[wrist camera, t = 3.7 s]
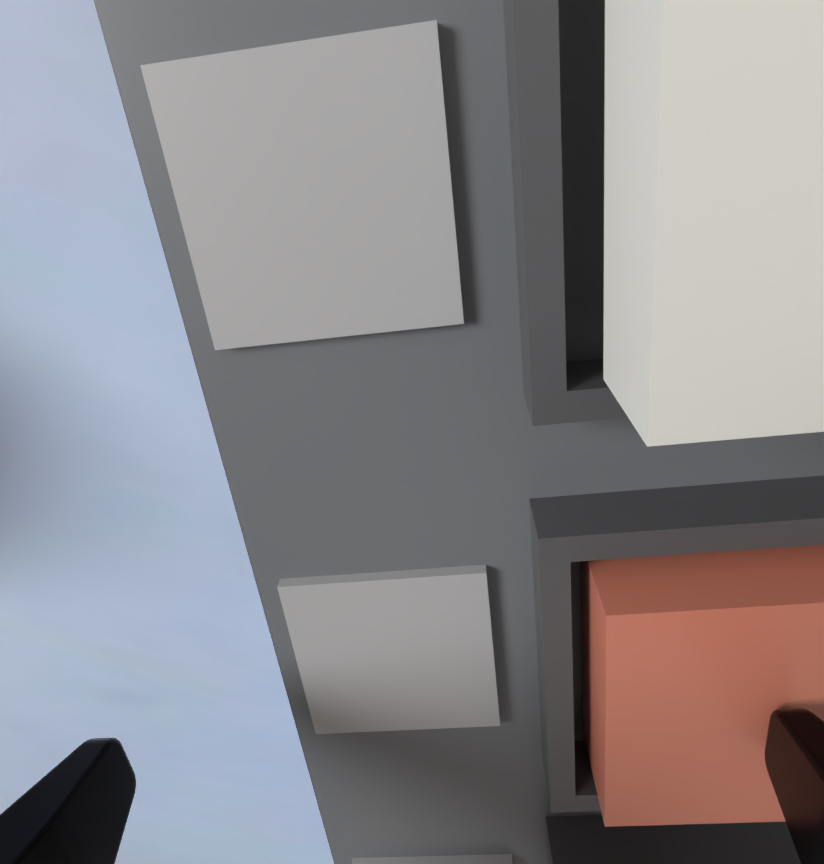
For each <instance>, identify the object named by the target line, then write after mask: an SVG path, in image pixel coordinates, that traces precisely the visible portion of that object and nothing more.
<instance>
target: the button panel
mask: <svg viewBox="0 0 824 864" xmlns="http://www.w3.org/2000/svg"><path fill="white" fill-rule="evenodd" d="M94 3H95V7H96V10H97V14H98V17H99V21H100V25H101V28H102V32H103V35H104V39H105V43H106V46H107V50H108V53H109V57H110V60H111V64H112V68H113V71H114V75H115V78H116V82H117V86H118V89H119V93H120V96H121V100H122V104H123V107H124V111H125V114H126V118H127V121H128V125H129V129H130V132H131V136H132V139H133V143H134V147H135V150H136V154H137V157H138V161H139V165H140V168H141V172H142V175H143V179H144V182H145V186H146V190H147V193H148V197H149V200H150V204H151V208H152V211H153V215H154V218H155V222H156V225H157V229H158V233H159V236H160V240H161V243H162V247H163V251H164V254H165V258H166V261H167V265H168V269H169V272H170V276H171V279H172V283H173V286H174V290H175V294H176V297H177V301H178V304H179V308H180V312H181V315H182V319H183V322H184V326H185V329H186V333H187V337H188V340H189V344H190V347H191V351H192V355H193V358H194V362H195V365H196V369H197V373H198V376H199V380H200V383H201V387H202V390H203V394H204V398H205V401H206V405H207V408H208V412H209V416H210V419H211V423H212V426H213V430H214V433H215V437H216V441H217V444H218V448H219V451H220V455H221V459H222V462H223V466H224V469H225V473H226V477H227V480H228V484H229V487H230V491H231V494H232V498H233V502H234V505H235V509H236V512H237V516H238V520H239V523H240V527H241V530H242V534H243V537H244V541H245V545H246V548H247V552H248V555H249V559H250V563H251V566H252V570H253V573H254V577H255V581H256V584H257V588H258V591H259V595H260V598H261V602H262V606H263V609H264V613H265V616H266V620H267V624H268V627H269V631H270V634H271V638H272V641H273V645H274V649H275V652H276V656H277V659H278V663H279V667H280V670H281V674H282V677H283V681H284V685H285V688H286V692H287V695H288V699H289V702H290V706H291V710H292V713H293V717H294V720H295V724H296V728H297V731H298V735H299V738H300V742H301V745H302V749H303V753H304V756H305V760H306V763H307V767H308V771H309V774H310V778H311V781H312V785H313V789H314V792H315V796H316V799H317V803H318V806H319V810H320V814H321V817H322V821H323V824H324V828H325V832H326V835H327V839H328V842H329V846H330V849H331V853H332V857H333V860H334V864H801V862H800V860H799V857H798V854H797V851H796V849H795V846H794V843H793V840H792V838H791V835H790V832H789V829H788V827H787V824H786V821H785V822H750V823H716V824H681V825H647V826H612V827H605V826H604V822H603V817H602V813H601V809H600V804H599V800H598V796H597V791H596V787H595V782H594V778H593V774H592V769H591V765H590V761H589V756H588V752H587V748H586V743H585V739H584V735H583V664H582V587H581V561H593V560H607V559H622V558H636V557H651V556H666V555H680V554H695V553H709V552H724V551H738V550H753V549H767V548H782V547H796V546H811V545H824V432H814V433H802V434H790V435H779V436H767V437H755V438H743V439H732V440H720V441H708V442H696V443H685V444H673V445H661V446H649V447H647V446H646V444H645V443H644V441H643V439H642V438H641V436H640V435H639V433H638V432H637V430H636V429H635V427H634V426H633V424H632V423H631V421H630V420H629V418H628V416H627V415H626V413H625V412H624V410H623V409H622V407H621V406H620V404H619V403H618V401H617V400H616V398H615V397H614V395H613V393H612V392H611V390H610V389H609V387H608V386H607V384H606V383H605V381H604V380H603V342H604V102H605V0H94Z"/></svg>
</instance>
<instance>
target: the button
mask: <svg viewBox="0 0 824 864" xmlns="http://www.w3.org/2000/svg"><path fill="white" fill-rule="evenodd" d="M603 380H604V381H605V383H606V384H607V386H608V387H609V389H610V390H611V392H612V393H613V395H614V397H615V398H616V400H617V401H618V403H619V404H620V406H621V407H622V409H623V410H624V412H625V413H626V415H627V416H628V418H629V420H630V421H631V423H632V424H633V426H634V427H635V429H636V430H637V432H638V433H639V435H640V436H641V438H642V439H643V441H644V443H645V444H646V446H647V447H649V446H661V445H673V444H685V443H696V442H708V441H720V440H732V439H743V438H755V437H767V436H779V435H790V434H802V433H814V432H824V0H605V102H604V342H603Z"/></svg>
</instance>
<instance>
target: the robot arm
mask: <svg viewBox="0 0 824 864" xmlns="http://www.w3.org/2000/svg"><path fill="white" fill-rule="evenodd" d="M765 763H766V768H767V771H768V774H769V777H770V780H771V782H772V785H773V788H774V791H775V794H776V796H777V799H778V802H779V805H780V807H781V810H782V813H783V816H784V818H785V821H786V824H787V827H788V829H789V832H790V835H791V838H792V840H793V843H794V846H795V849H796V851H797V854H798V857H799V860H800V862H801V864H824V721H823V720H821V719H820V718H819V717H818V716H816V715H815V714H814V713H812V712H810V711H809V710H806V709H802V708H795V709H777V710H774V711H773V712H772V714H771V716H770V720H769V727H768V733H767V739H766V746H765ZM135 788H136V779H135V774H134V771H133V769H132V767H131V765H130V762H129V760H128V758H127V756H126V753H125V751H124V749H123V747H122V744H121V743H120V741H119V740H117V739H116V738H96V739H90V740H87V741H86V742H84V743H83V744H81V745H80V746H79V747H78V748H77V749H76V750H74V751H73V752H72V753H71V754H70V755H69V756H67V757H66V758H65V759H64V760H63V761H62V762H61V763H59V764H58V765H57V766H56V767H55V768H54V769H52V770H51V771H50V772H49V773H48V774H47V775H46V776H44V777H43V778H42V779H41V780H40V781H39V782H37V783H36V784H35V785H34V786H33V787H32V788H31V789H29V790H28V791H27V792H26V793H25V794H24V795H22V796H21V797H20V798H19V799H18V800H17V801H16V802H14V803H13V804H12V805H11V806H10V807H9V808H7V809H6V810H5V811H4V812H3V813H2V814H1V815H0V864H114V863H115V860H116V856H117V853H118V850H119V846H120V843H121V839H122V836H123V832H124V829H125V825H126V822H127V818H128V815H129V811H130V808H131V804H132V801H133V798H134V794H135Z"/></svg>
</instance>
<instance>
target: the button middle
mask: <svg viewBox="0 0 824 864" xmlns="http://www.w3.org/2000/svg"><path fill="white" fill-rule="evenodd" d="M581 587H582V664H583V735H584V739H585V743H586V748H587V752H588V756H589V761H590V765H591V769H592V774H593V778H594V782H595V787H596V791H597V796H598V800H599V804H600V809H601V813H602V817H603V822H604V826H605V827H612V826H647V825H681V824H716V823H750V822H785V818H784V816H783V813H782V810H781V807H780V805H779V802H778V799H777V796H776V794H775V791H774V788H773V785H772V782H771V780H770V777H769V774H768V771H767V768H766V763H765V746H766V739H767V733H768V727H769V720H770V716H771V714H772V712H773V711H774V710H777V709H795V708H802V709H806V710H809V711H810V712H812V713H814V714H815V715H816V716H818V717H819V718H820V719H821V720H823V721H824V545H811V546H796V547H782V548H767V549H753V550H738V551H724V552H709V553H695V554H680V555H666V556H651V557H636V558H622V559H607V560H593V561H581Z"/></svg>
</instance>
